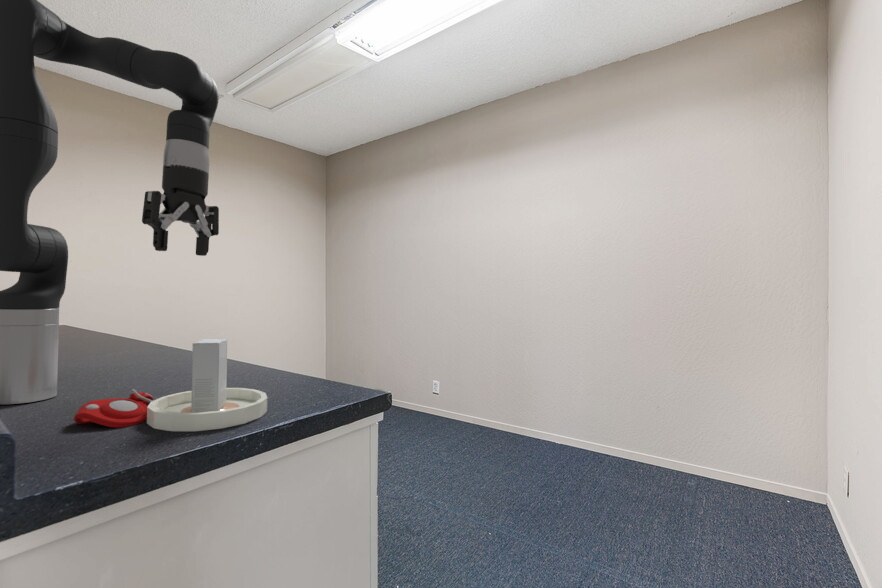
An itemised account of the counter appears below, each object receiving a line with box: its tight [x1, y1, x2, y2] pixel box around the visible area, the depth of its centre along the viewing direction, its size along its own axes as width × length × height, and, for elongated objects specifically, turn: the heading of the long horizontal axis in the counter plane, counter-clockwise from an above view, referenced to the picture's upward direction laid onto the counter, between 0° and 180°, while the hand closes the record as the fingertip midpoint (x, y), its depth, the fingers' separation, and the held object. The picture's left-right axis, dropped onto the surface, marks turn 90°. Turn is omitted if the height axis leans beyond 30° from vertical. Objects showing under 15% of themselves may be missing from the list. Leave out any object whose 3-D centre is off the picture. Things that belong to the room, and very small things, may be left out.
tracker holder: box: [73, 388, 155, 429], centre depth 69 cm, size 12×4×10 cm
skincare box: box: [191, 338, 228, 413], centre depth 73 cm, size 6×4×12 cm
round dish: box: [146, 387, 268, 432], centre depth 73 cm, size 18×18×3 cm
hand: (181, 253), depth 80 cm, fingers open, 8 cm apart
